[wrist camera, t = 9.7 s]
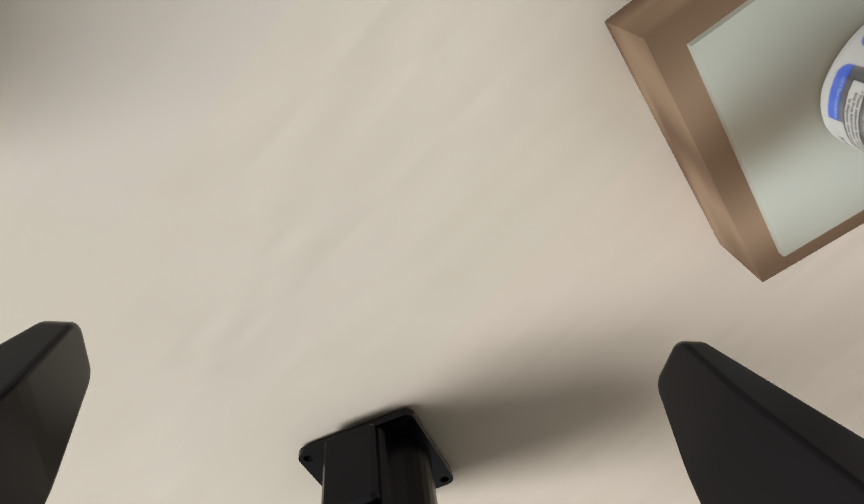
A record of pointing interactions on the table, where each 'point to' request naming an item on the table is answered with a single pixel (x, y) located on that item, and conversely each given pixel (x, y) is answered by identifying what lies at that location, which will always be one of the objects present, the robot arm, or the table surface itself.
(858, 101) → the pill bottle
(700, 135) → the pedestal
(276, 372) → the table surface
